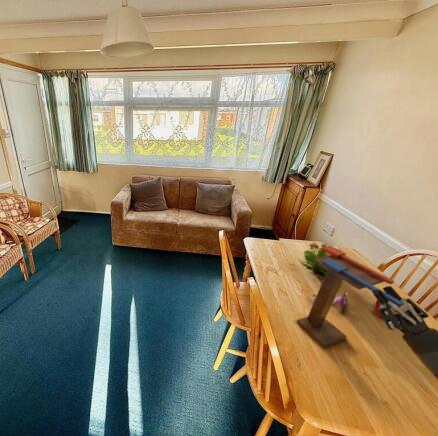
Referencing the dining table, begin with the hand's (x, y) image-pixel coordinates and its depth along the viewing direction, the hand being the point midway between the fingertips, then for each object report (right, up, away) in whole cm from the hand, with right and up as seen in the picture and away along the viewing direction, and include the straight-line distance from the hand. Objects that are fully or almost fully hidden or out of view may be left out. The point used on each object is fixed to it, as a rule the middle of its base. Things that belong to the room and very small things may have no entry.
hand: (381, 288), depth 69 cm
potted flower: (+27, -10, +58) cm, 65 cm away
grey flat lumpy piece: (+11, -19, +40) cm, 45 cm away
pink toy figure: (+19, -20, +38) cm, 46 cm away
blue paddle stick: (-2, +1, +7) cm, 7 cm away
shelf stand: (+1, -25, +26) cm, 36 cm away
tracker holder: (+37, -22, +34) cm, 54 cm away
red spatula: (+5, +5, +15) cm, 16 cm away
